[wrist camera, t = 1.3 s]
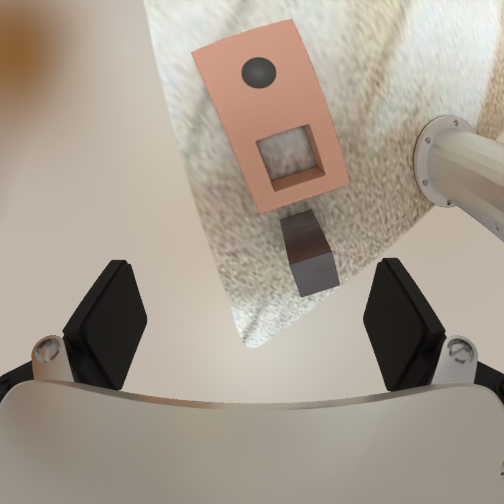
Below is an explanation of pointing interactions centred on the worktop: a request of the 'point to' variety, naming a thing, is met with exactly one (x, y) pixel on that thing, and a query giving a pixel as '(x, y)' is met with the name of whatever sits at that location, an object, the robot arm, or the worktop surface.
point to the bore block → (272, 109)
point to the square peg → (309, 254)
